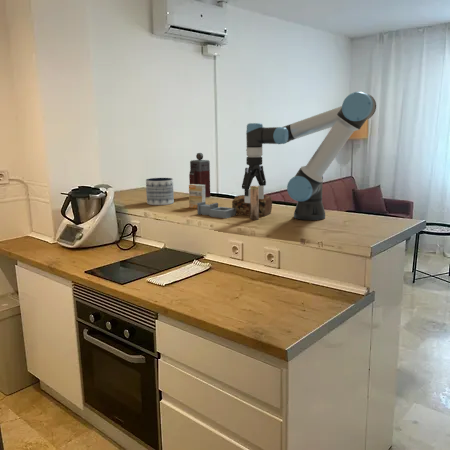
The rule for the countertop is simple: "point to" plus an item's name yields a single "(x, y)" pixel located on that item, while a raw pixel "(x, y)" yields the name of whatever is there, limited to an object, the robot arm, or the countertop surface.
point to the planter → (159, 191)
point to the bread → (244, 208)
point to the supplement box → (196, 195)
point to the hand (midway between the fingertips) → (254, 200)
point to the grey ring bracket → (215, 210)
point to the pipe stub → (254, 202)
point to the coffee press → (200, 173)
